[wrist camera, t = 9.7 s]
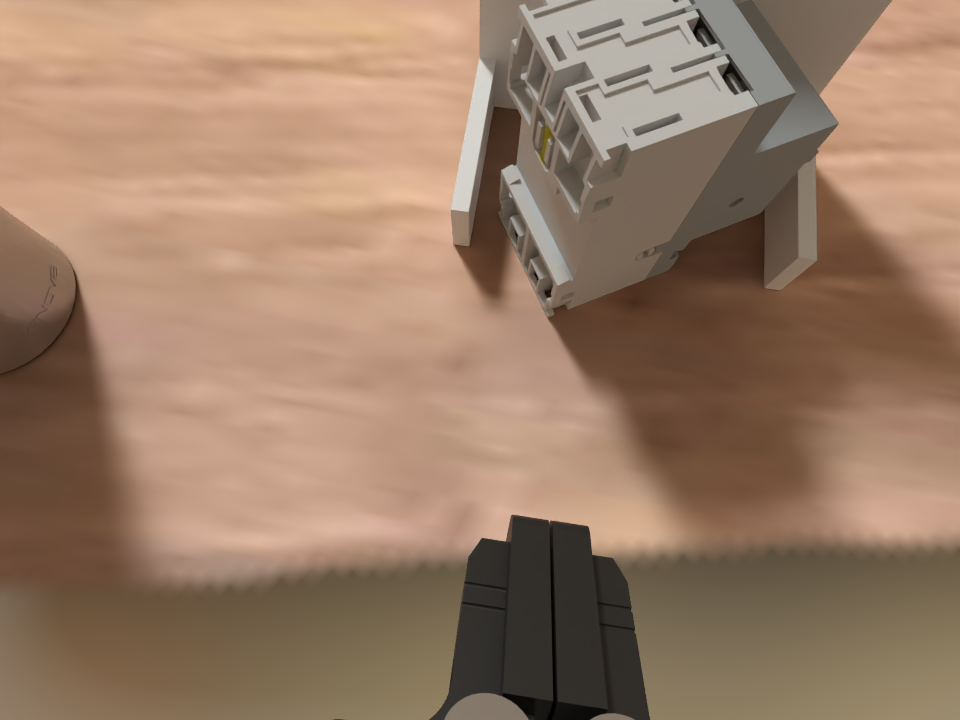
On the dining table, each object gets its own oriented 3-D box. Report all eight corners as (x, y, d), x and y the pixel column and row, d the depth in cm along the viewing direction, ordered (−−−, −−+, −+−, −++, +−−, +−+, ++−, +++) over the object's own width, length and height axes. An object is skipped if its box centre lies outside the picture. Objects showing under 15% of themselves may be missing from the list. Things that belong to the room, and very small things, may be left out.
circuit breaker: (756, 236, 37) (936, 41, 22) (547, 317, 35) (597, 163, 21) (698, 141, 39) (830, -94, 24) (498, 214, 37) (512, 7, 23)
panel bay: (453, 244, 36) (428, -85, 17) (481, 89, 40) (487, -329, 21) (780, 290, 36) (1135, -1, 16) (781, 128, 39) (1076, -268, 20)
